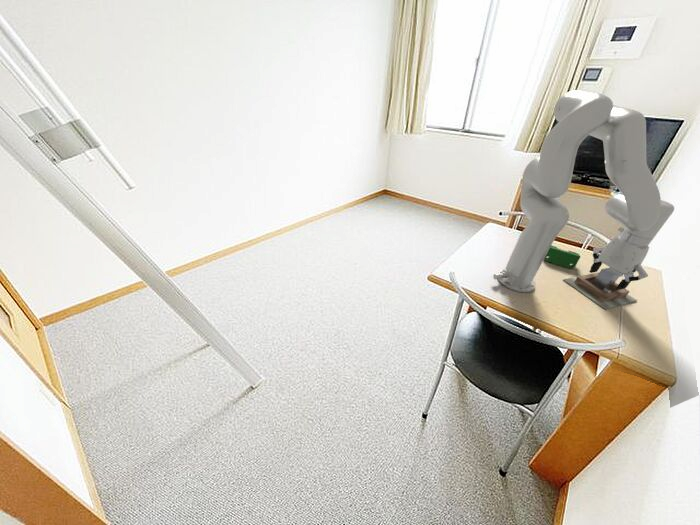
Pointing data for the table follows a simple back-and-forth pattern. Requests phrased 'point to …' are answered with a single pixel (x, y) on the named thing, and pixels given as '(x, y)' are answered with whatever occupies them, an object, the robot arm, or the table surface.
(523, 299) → the table surface
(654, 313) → the table surface
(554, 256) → the green rectangular block
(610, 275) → the grey angular block
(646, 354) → the table surface
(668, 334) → the table surface
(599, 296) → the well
